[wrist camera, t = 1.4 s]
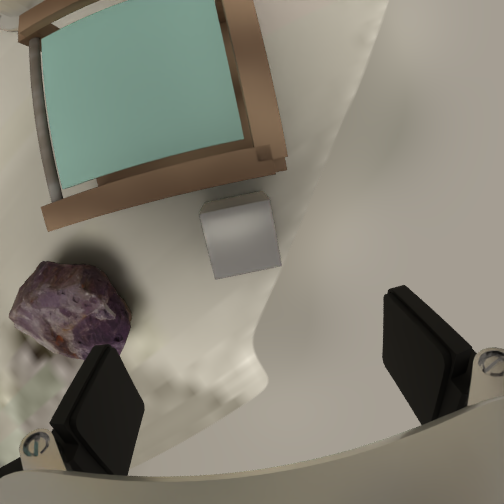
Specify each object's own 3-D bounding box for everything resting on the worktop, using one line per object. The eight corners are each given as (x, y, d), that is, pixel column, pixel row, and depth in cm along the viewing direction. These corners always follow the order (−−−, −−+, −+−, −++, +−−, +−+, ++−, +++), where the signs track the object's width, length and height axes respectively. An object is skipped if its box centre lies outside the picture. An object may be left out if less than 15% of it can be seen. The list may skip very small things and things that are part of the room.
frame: (78, 55, 21) (10, 21, 11) (233, 9, 21) (235, -61, 10) (105, 202, 26) (39, 234, 15) (266, 162, 26) (290, 171, 15)
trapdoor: (48, 42, 14) (41, 39, 13) (210, -14, 14) (209, -22, 13) (70, 187, 17) (62, 189, 16) (243, 139, 17) (243, 138, 16)
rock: (126, 336, 31) (148, 256, 28) (116, 394, 24) (137, 305, 21) (30, 304, 28) (39, 219, 25) (0, 353, 20) (-5, 255, 17)
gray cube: (204, 202, 26) (198, 214, 22) (262, 190, 26) (269, 199, 22) (217, 257, 28) (215, 279, 23) (273, 245, 28) (281, 265, 23)
